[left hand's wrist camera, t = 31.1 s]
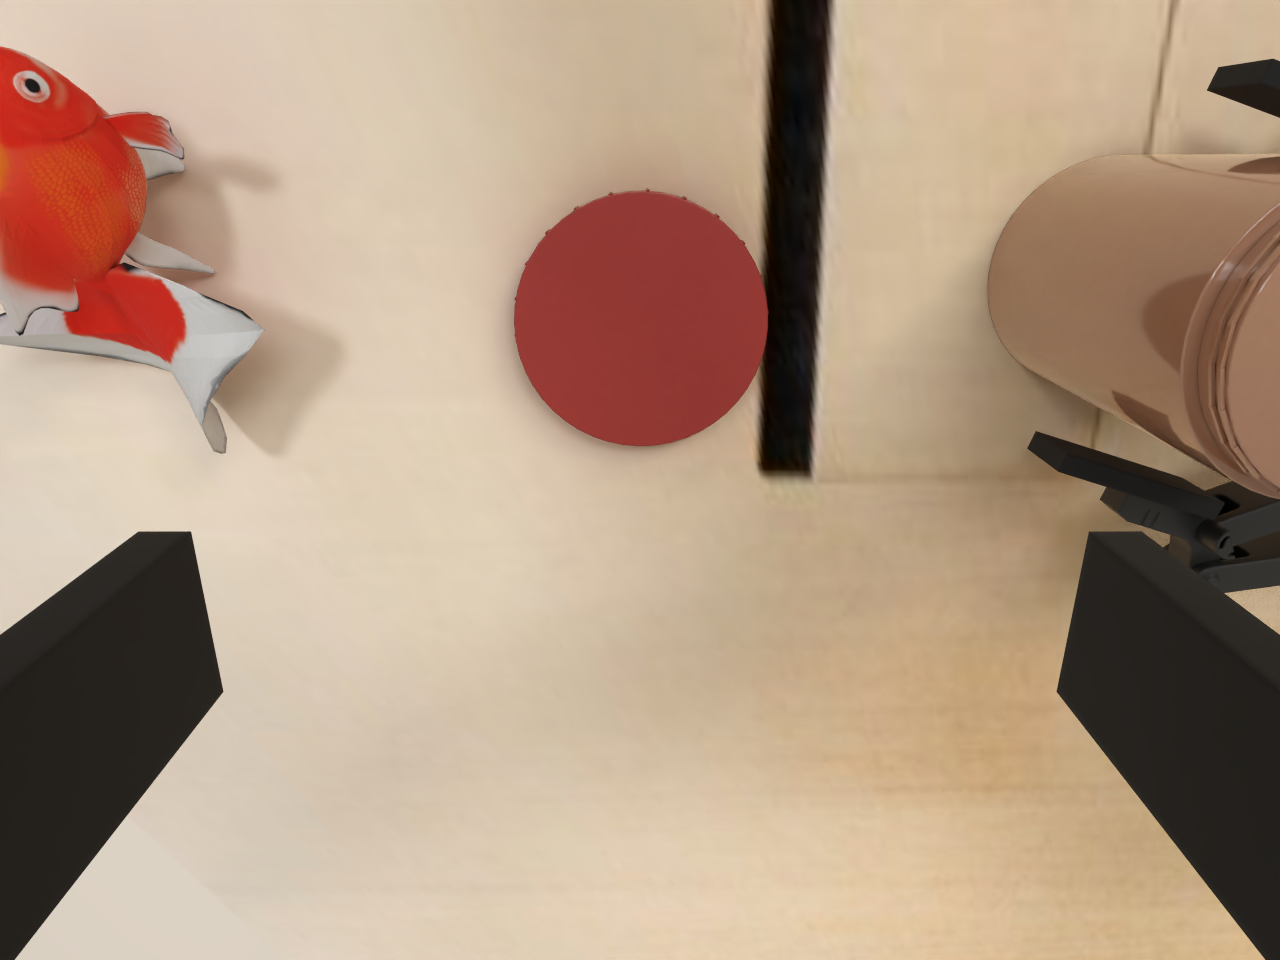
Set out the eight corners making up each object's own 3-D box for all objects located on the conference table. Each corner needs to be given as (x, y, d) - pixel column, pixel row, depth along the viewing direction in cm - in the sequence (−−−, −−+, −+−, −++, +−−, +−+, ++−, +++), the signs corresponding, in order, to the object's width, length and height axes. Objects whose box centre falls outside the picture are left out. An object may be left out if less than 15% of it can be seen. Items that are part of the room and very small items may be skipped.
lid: (476, 248, 36) (469, 252, 35) (715, 148, 35) (719, 147, 33) (575, 468, 40) (572, 481, 38) (796, 385, 38) (802, 395, 37)
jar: (1134, 101, 34) (1498, 59, 20) (1258, 275, 37) (1664, 353, 22) (942, 272, 37) (1140, 348, 22) (1070, 426, 39) (1326, 585, 25)
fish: (281, 40, 29) (39, 160, 23) (367, 391, 41) (221, 540, 34) (40, -11, 32) (-242, 85, 25) (183, 334, 43) (14, 462, 36)
